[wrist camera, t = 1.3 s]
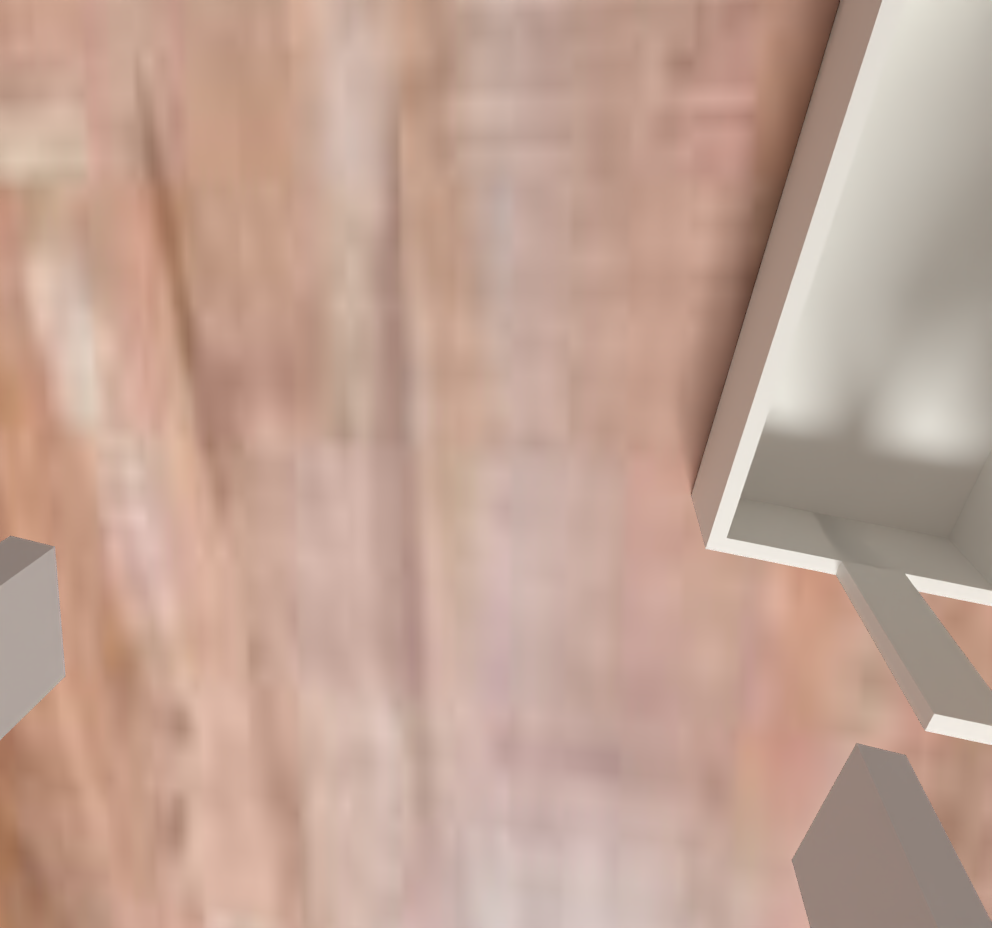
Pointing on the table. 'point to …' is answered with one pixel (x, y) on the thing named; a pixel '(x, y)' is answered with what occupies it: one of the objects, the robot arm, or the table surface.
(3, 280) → the table surface
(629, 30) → the table surface
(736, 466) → the box
